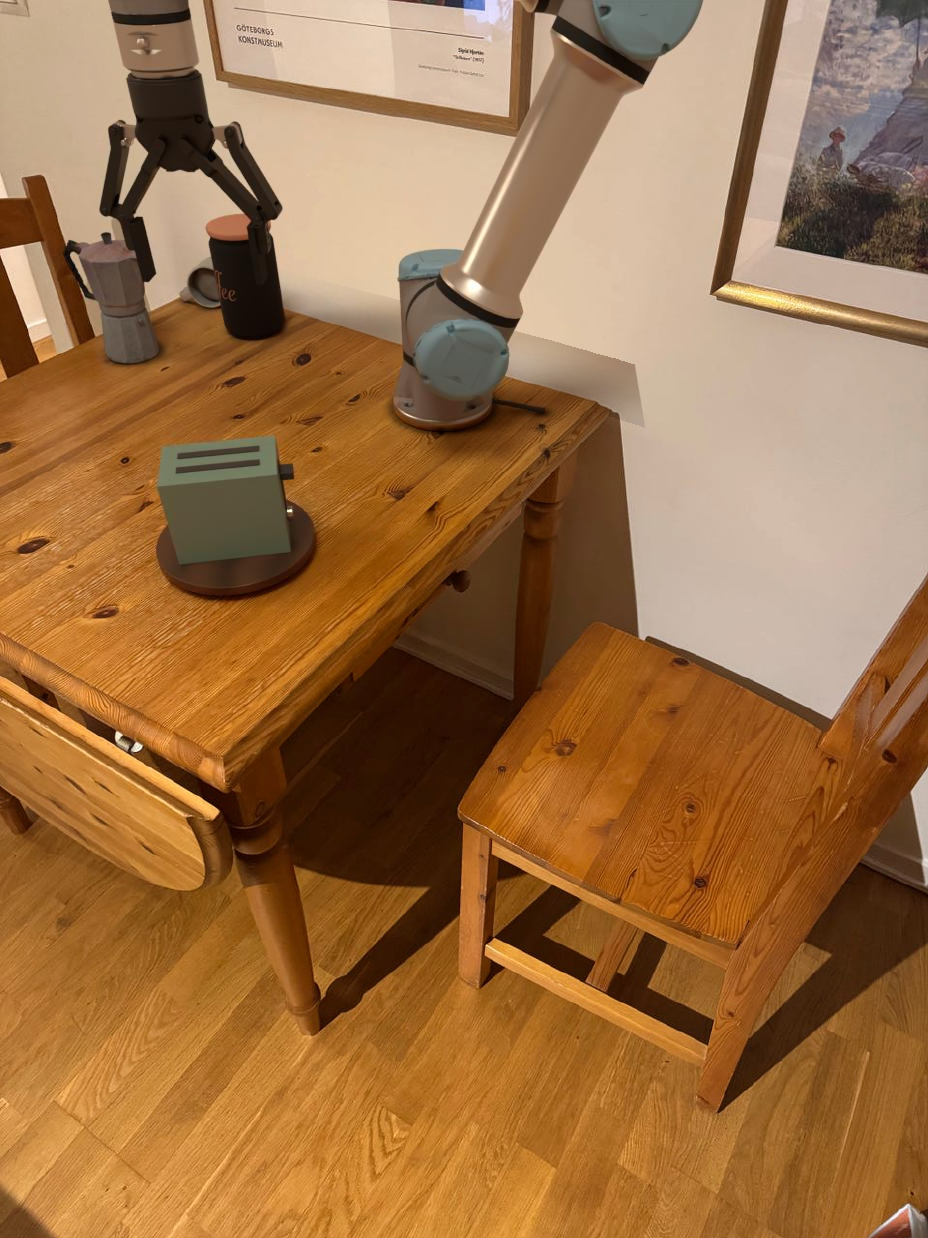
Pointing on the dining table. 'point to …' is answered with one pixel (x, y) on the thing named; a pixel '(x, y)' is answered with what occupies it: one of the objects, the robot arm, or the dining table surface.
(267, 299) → the coffee jar
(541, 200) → the robot arm
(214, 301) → the ceramic mug
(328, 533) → the dining table surface
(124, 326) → the moka pot
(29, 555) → the dining table surface
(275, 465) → the toaster
